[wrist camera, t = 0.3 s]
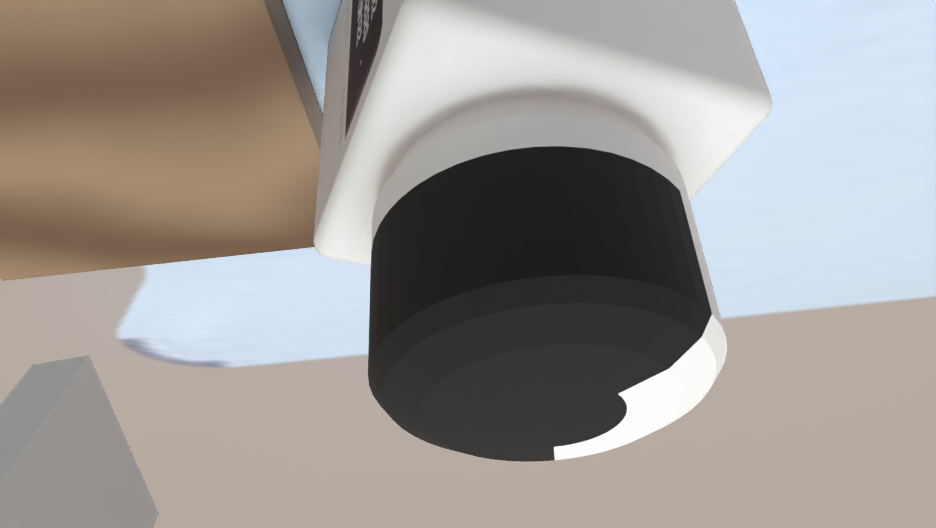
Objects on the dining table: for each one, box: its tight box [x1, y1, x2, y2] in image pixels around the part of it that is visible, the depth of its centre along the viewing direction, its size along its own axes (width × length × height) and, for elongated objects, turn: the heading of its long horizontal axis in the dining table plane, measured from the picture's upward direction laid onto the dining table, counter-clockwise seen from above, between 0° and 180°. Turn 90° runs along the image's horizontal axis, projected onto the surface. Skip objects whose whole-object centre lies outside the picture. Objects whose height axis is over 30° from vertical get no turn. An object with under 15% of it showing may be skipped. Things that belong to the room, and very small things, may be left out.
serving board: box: [0, 0, 323, 281], centre depth 23 cm, size 18×13×2 cm
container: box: [314, 0, 772, 461], centre depth 18 cm, size 8×8×13 cm
